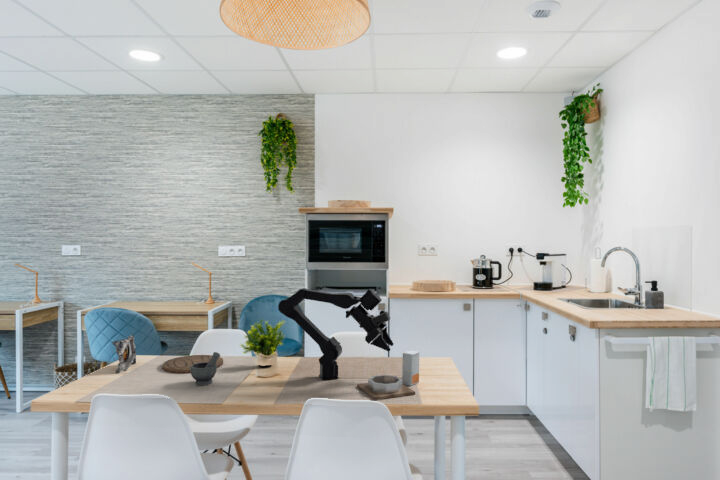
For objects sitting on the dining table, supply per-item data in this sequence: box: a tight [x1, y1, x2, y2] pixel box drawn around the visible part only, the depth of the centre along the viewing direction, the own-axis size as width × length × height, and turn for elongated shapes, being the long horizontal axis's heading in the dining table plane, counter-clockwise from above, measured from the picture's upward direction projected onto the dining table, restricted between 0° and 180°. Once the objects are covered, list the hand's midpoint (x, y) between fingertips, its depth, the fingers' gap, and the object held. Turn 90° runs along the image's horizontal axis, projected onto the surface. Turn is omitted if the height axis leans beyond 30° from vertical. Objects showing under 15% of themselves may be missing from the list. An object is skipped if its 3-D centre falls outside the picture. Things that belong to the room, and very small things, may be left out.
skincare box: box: [401, 350, 420, 387], centre depth 175 cm, size 6×4×12 cm
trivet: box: [162, 354, 224, 374], centre depth 200 cm, size 25×25×2 cm
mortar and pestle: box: [190, 351, 221, 387], centre depth 174 cm, size 11×9×12 cm
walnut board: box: [356, 382, 416, 401], centre depth 167 cm, size 16×16×1 cm
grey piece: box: [112, 334, 137, 374], centre depth 194 cm, size 15×4×13 cm, turn 7°
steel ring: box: [367, 374, 404, 393], centre depth 167 cm, size 12×12×3 cm
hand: (391, 347), depth 177 cm, fingers open, 9 cm apart
